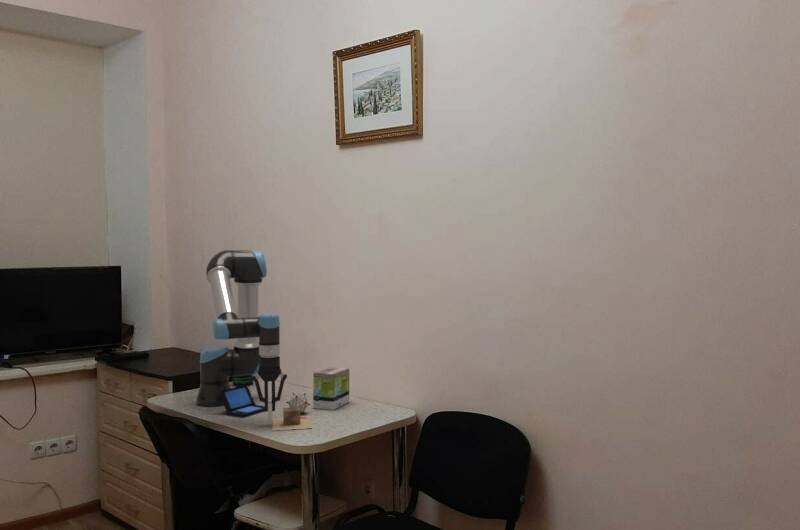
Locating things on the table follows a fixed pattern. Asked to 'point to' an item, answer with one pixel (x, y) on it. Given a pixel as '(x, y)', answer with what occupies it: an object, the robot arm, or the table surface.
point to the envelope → (279, 425)
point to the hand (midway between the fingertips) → (270, 420)
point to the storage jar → (242, 380)
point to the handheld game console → (239, 402)
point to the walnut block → (291, 415)
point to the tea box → (331, 388)
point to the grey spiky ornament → (298, 402)
